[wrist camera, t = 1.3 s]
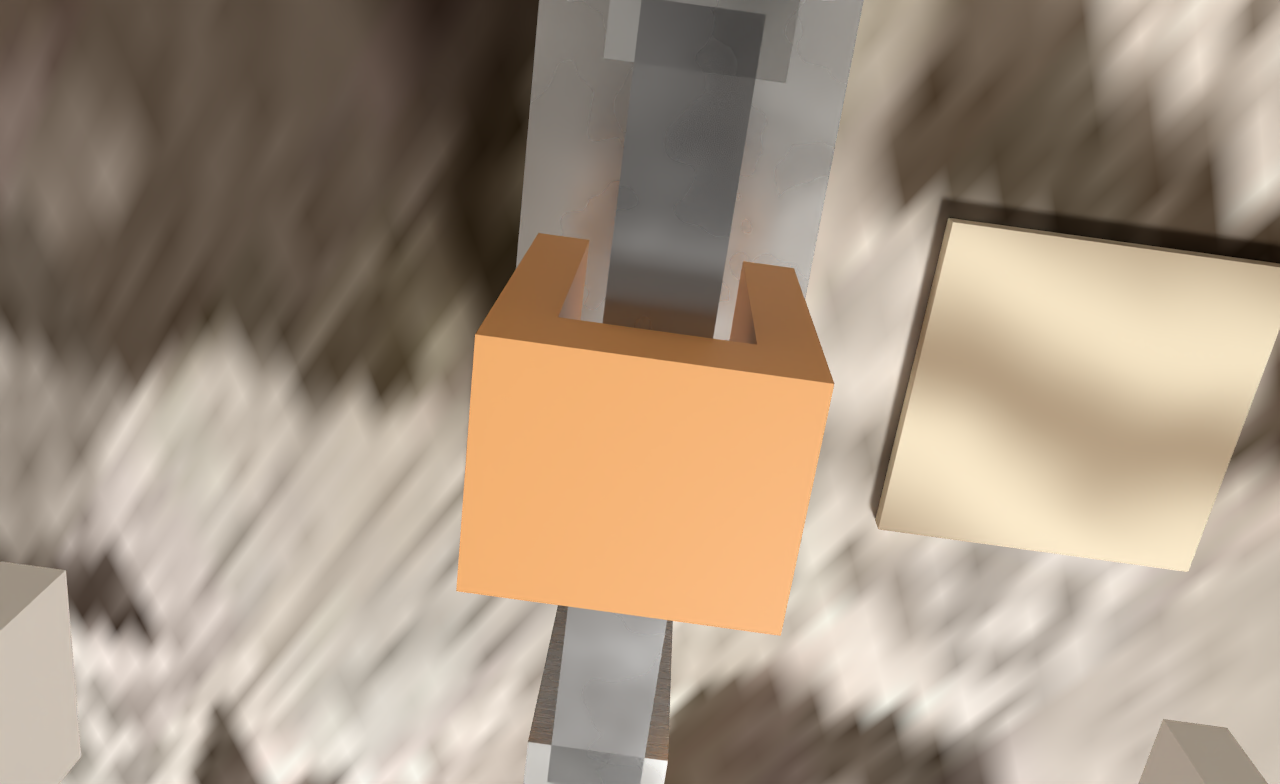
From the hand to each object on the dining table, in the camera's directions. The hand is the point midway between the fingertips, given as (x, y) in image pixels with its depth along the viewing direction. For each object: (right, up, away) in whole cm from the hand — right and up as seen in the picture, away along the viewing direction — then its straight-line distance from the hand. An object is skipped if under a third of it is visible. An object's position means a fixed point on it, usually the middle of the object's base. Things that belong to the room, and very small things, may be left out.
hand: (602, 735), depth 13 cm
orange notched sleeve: (+1, +5, +13) cm, 14 cm away
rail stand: (+1, +8, +19) cm, 20 cm away
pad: (+14, +4, +19) cm, 24 cm away
